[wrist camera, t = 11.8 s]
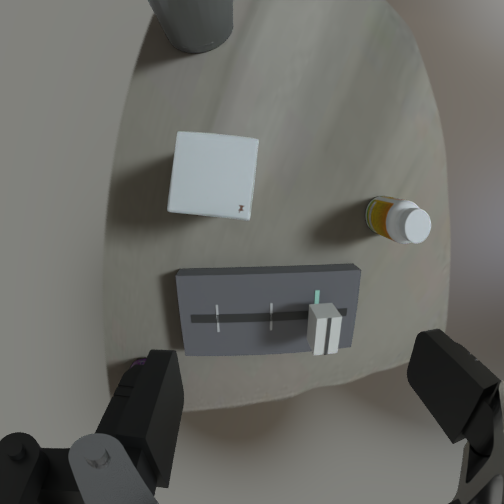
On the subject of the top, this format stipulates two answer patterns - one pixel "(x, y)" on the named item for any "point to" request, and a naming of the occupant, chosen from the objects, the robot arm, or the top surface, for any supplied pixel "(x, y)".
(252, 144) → the supplement box
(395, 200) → the supplement bottle
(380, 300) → the top surface
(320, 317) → the fader knob
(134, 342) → the top surface
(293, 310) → the console
